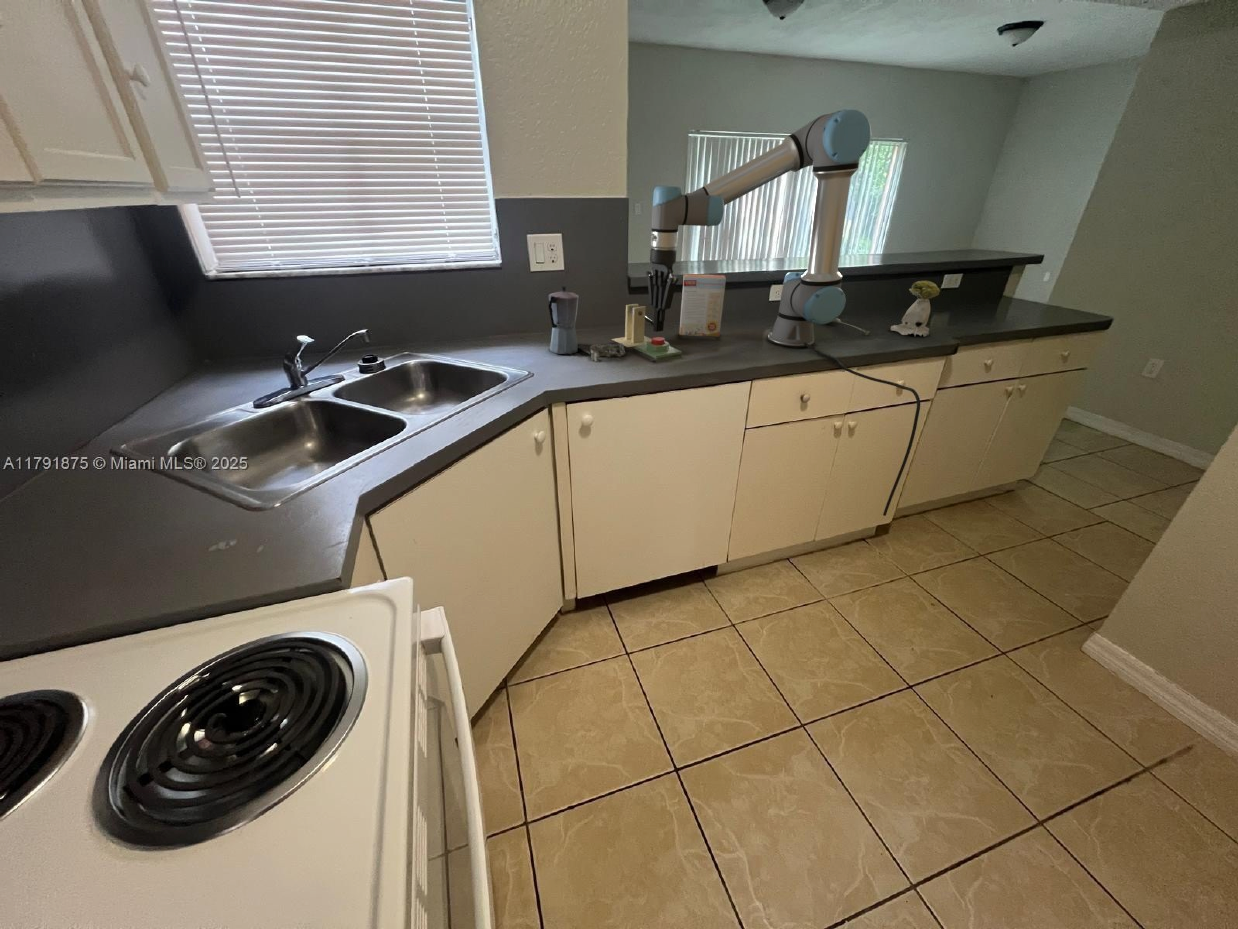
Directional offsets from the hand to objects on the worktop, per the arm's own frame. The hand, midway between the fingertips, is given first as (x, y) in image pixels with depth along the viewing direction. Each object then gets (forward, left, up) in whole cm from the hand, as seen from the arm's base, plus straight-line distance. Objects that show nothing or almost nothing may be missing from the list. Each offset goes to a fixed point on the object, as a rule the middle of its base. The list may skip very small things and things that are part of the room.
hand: (658, 330), depth 151 cm
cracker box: (+9, -25, -8) cm, 28 cm away
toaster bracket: (+13, 0, -8) cm, 15 cm away
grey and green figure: (-25, -100, -8) cm, 103 cm away
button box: (0, 0, -8) cm, 8 cm away
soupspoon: (-9, -83, -8) cm, 84 cm away
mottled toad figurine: (+6, +15, -8) cm, 18 cm away
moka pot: (+18, +24, -8) cm, 31 cm away
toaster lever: (+13, -3, 0) cm, 13 cm away
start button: (0, 0, -4) cm, 4 cm away
